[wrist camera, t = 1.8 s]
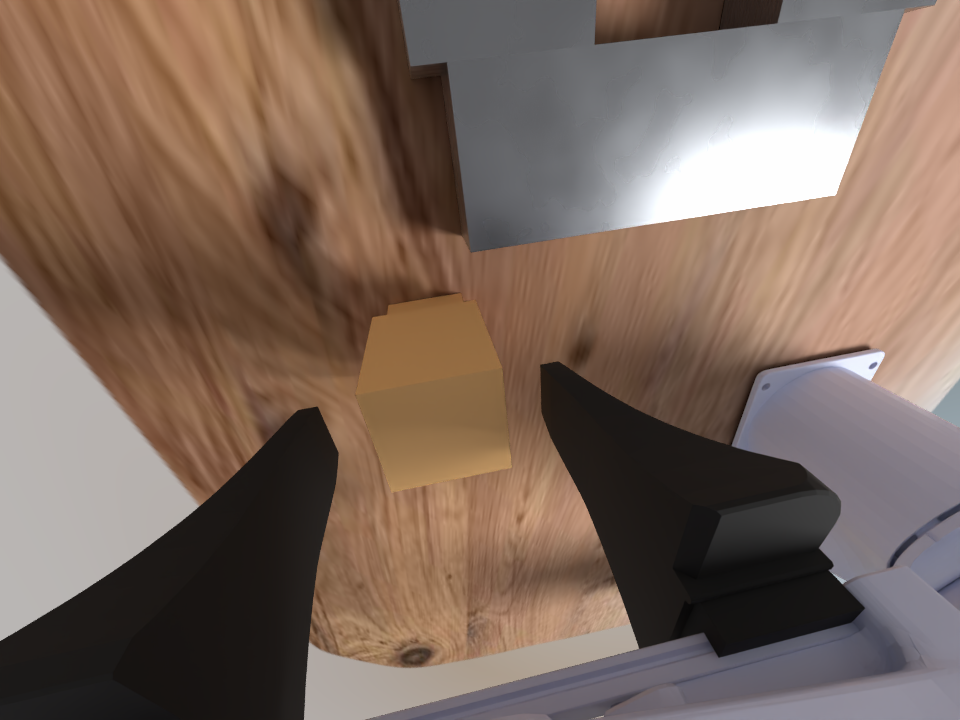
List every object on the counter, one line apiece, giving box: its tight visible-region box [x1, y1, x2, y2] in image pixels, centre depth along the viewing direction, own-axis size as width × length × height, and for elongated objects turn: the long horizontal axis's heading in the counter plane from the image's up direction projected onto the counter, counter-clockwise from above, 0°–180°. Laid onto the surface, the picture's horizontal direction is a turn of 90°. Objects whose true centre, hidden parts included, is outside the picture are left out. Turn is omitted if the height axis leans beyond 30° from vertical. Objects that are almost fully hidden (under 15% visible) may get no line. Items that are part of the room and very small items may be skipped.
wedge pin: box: [355, 293, 512, 492], centre depth 14 cm, size 4×4×7 cm
